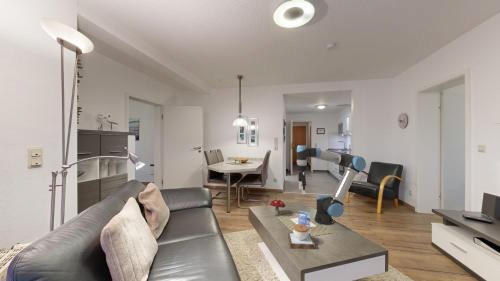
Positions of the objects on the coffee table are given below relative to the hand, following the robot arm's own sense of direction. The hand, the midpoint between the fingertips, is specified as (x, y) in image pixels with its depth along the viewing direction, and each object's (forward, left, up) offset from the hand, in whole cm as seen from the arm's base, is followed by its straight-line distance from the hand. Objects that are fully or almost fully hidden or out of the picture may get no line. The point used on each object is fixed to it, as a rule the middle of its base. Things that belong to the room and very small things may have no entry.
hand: (302, 191), depth 157 cm
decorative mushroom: (+18, -32, -32) cm, 49 cm away
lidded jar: (+4, +18, -29) cm, 34 cm away
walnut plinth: (+4, +18, -32) cm, 36 cm away
